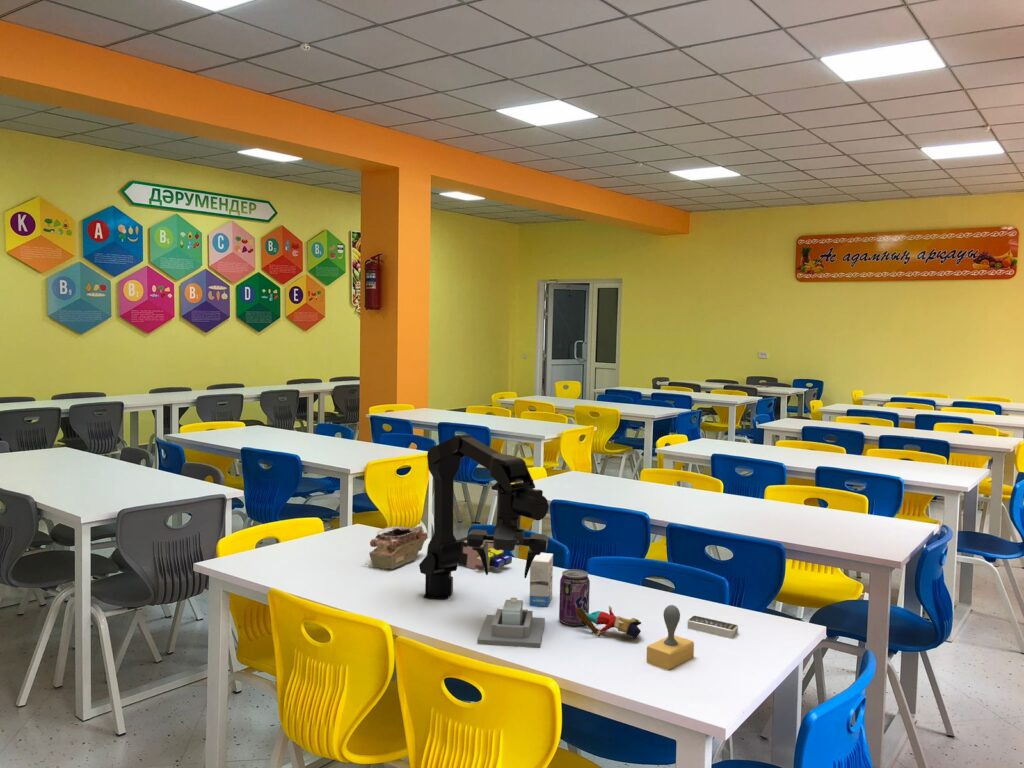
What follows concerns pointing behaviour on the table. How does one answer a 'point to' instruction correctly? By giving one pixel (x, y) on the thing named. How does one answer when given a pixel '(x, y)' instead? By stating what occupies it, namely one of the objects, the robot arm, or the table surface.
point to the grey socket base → (512, 631)
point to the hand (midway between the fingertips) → (506, 576)
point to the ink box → (541, 580)
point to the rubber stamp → (670, 644)
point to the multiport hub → (713, 627)
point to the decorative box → (396, 546)
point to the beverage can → (573, 596)
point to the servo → (512, 612)
